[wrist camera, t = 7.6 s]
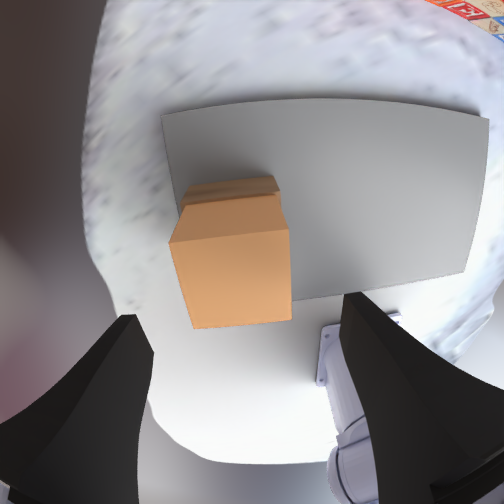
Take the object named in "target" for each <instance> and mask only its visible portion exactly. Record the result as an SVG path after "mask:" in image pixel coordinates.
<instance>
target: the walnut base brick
mask: <svg viewBox="0 0 504 504" xmlns="http://www.w3.org/2000/svg"><path fill="white" fill-rule="evenodd" d="M268 195H276V196H277V199H278V201H279V204H280V207H281V193H280V189H279V187H278V185H277V182H276V180H275V178H274V176H267V177H256V178H247V179H238V180H229V181H221V182H214V183H206V184H199V185H192V186H189V187H188V189H187V191H186V193H185V195H184V196H183V198H182V200H181V202H180V206H181V211H182V212H183V210H184V208H185V206H186V205H193V204H200V203H207V202H215V201H223V200H231V199H240V198H249V197H258V196H268ZM281 209H282V208H281Z"/></svg>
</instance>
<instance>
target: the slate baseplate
mask: <svg viewBox="0 0 504 504" xmlns="http://www.w3.org/2000/svg"><path fill="white" fill-rule="evenodd" d="M161 121H162V127H163V134H164V140H165V146H166V151H167V157H168V163H169V168H170V173H171V179H172V184H173V189H174V194H175V199H176V204H177V209H178V213H179V218H180V216H181V214H182V211H181V206H180V202H181V200H182V198H183V196H184V195H185V193H186V191H187V189H188V187H189V186H192V185H199V184H206V183H214V182H221V181H229V180H238V179H247V178H256V177H267V176H274V178H275V180H276V182H277V185H278V187H279V189H280V193H281V208H282V212H283V215H284V217H285V220H286V223H287V225H288V228H289V242H290V267H291V301H296V300H304V299H312V298H319V297H327V296H334V295H341V294H347V293H353V292H360V291H367V290H373V289H379V288H385V287H391V286H396V285H402V284H408V283H413V282H418V281H424V280H429V279H434V278H439V277H444V276H448V275H453V274H458V273H462V272H464V270H465V267H466V263H467V260H468V256H469V253H470V249H471V245H472V241H473V237H474V233H475V229H476V225H477V220H478V215H479V210H480V205H481V199H482V194H483V187H484V180H485V173H486V164H487V153H488V139H489V119H487V118H483V117H479V116H475V115H471V114H466V113H462V112H457V111H452V110H446V109H441V108H435V107H429V106H422V105H415V104H407V103H399V102H389V101H377V100H361V99H331V98H313V99H282V100H266V101H254V102H244V103H235V104H226V105H219V106H211V107H205V108H199V109H193V110H187V111H181V112H176V113H171V114H166V115H161Z"/></svg>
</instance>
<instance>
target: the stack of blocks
mask: <svg viewBox="0 0 504 504" xmlns="http://www.w3.org/2000/svg"><path fill="white" fill-rule="evenodd" d="M425 1H428V2H430V3H433V4H435V5H437V6H440V7H443V8H445V9H447V10H449V11H451V12H453V13H455V14H458V15H459V16H461V17H463V18H465V19H468V20H469V21H470V22H471V23H473V24H475V25H476V26H478V27H480V28H482V29H483V30H485V31H487V32H488V33H490V34H492V35H493V36H495V37H496V38H498V39H500V40H501V41H503V42H504V0H425Z"/></svg>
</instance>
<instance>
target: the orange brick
mask: <svg viewBox="0 0 504 504" xmlns="http://www.w3.org/2000/svg"><path fill="white" fill-rule="evenodd" d="M169 247H170V251H171V255H172V258H173V262H174V266H175V269H176V273H177V276H178V280H179V283H180V287H181V290H182V293H183V297H184V300H185V303H186V306H187V310H188V313H189V316H190V319H191V322H192V325H193V328H194V329H203V328H217V327H229V326H240V325H250V324H260V323H269V322H278V321H286V320H292V301H291V267H290V242H289V228H288V225H287V223H286V220H285V217H284V215H283V212H282V209H281V207H280V204H279V201H278V199H277V196H276V195H268V196H258V197H249V198H240V199H231V200H223V201H215V202H207V203H200V204H193V205H186V206H185V208H184V210H183V212H182V214H181V216H180V219H179V221H178V223H177V225H176V227H175V229H174V232H173V234H172V236H171V238H170V241H169Z"/></svg>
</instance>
